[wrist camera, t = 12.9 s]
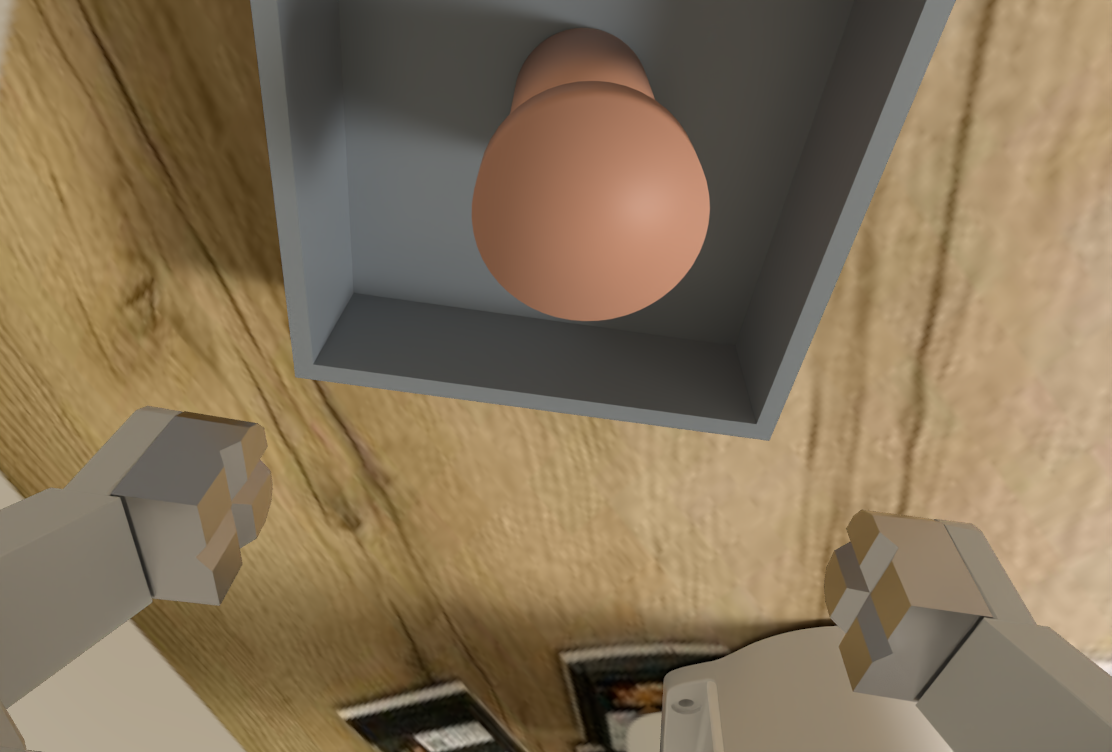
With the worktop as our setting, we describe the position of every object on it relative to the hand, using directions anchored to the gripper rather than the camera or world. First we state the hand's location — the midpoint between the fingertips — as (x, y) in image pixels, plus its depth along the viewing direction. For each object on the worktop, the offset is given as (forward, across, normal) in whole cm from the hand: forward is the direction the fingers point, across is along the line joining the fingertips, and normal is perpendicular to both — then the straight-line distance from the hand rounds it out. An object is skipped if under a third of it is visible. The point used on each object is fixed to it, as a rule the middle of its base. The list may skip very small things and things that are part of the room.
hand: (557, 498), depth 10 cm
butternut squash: (+15, 0, -2) cm, 15 cm away
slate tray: (+15, 0, -1) cm, 15 cm away
